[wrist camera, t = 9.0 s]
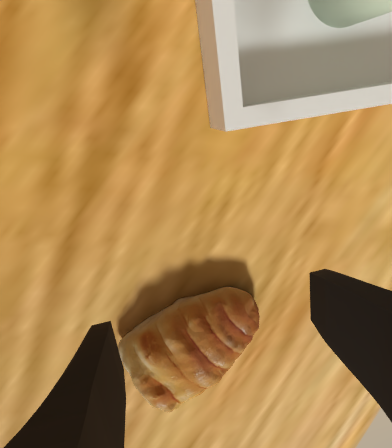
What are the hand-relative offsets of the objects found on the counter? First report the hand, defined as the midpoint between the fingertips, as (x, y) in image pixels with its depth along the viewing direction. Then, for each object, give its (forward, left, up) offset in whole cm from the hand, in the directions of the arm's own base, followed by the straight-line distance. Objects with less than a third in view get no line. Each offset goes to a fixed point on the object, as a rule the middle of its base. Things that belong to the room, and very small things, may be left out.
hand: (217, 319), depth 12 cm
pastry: (+1, +8, -10) cm, 13 cm away
